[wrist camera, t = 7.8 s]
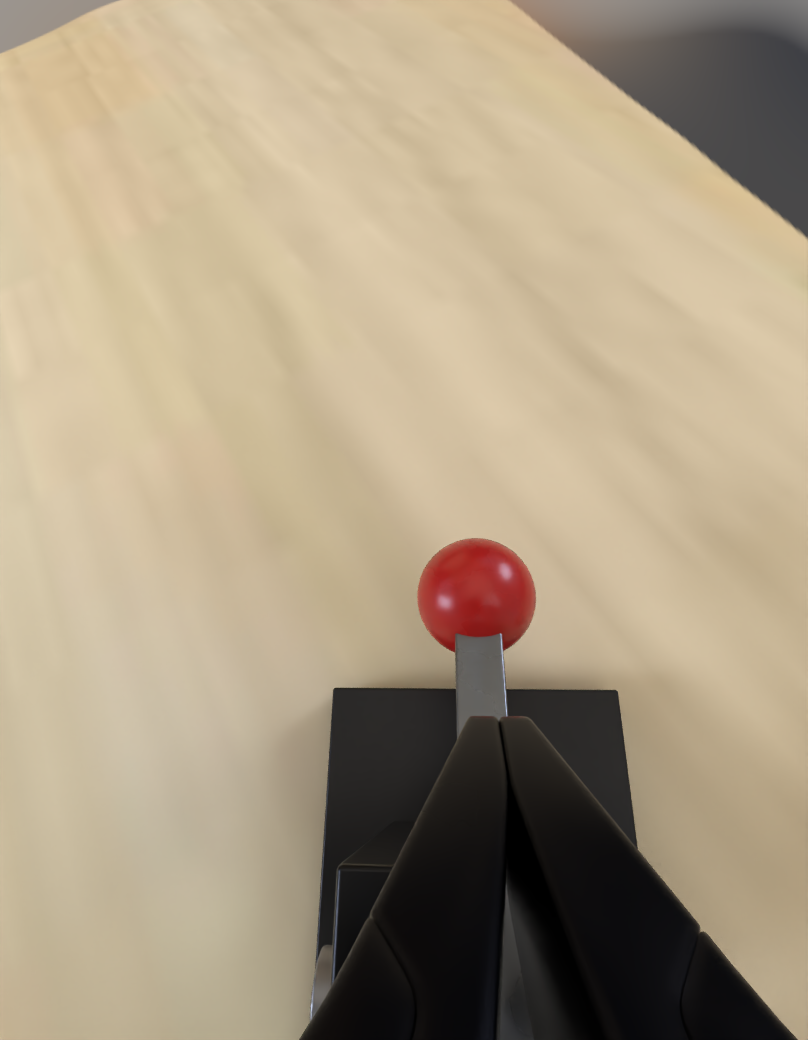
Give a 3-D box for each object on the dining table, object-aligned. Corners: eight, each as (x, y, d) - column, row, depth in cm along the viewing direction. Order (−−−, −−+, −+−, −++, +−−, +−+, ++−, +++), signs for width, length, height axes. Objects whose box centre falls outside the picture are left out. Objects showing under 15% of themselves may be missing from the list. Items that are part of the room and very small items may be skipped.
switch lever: (421, 580, 17) (415, 515, 15) (524, 579, 17) (535, 513, 14) (408, 1103, 10) (394, 1136, 8) (584, 1115, 10) (622, 1151, 7)
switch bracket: (339, 691, 20) (243, 626, 11) (608, 694, 19) (745, 625, 10) (310, 1170, 15) (94, 1767, 6) (669, 1199, 14) (1034, 1929, 5)
